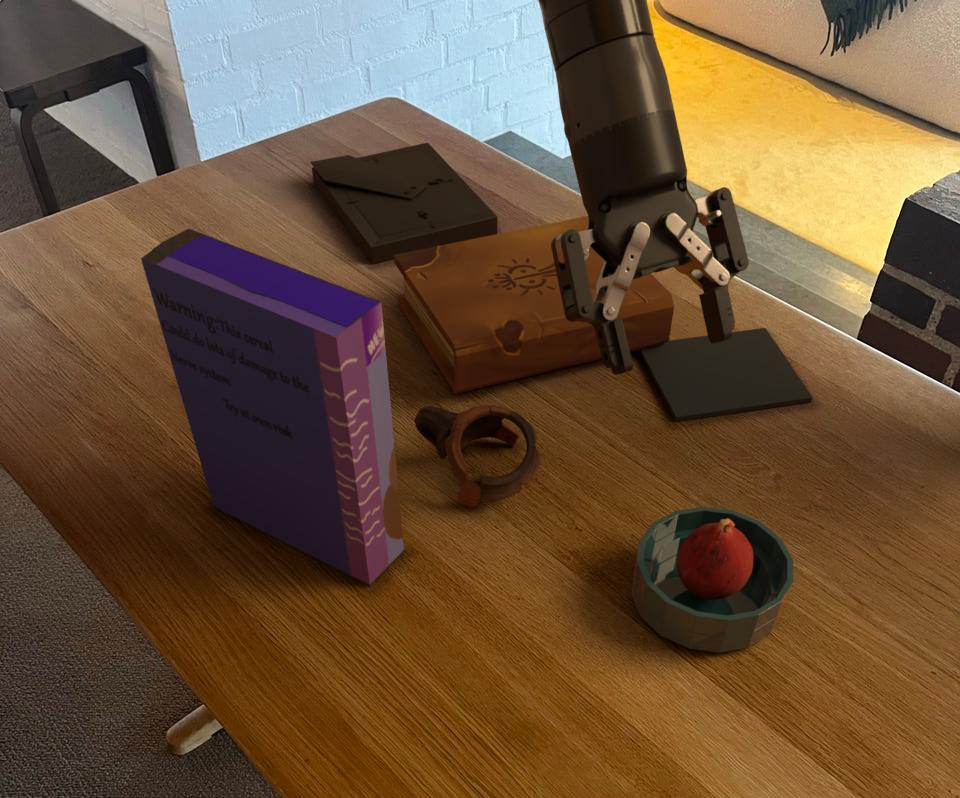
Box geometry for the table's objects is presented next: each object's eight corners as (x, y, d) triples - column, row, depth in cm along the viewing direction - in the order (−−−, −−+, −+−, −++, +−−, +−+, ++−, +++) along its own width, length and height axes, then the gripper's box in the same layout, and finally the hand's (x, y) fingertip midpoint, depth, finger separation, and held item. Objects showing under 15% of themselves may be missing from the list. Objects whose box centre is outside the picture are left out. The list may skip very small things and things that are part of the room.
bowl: (747, 536, 85) (758, 497, 82) (804, 642, 78) (819, 604, 74) (613, 557, 84) (618, 519, 80) (658, 668, 76) (666, 631, 73)
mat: (764, 332, 104) (765, 327, 104) (811, 402, 97) (813, 397, 96) (636, 349, 102) (637, 344, 102) (674, 421, 95) (675, 416, 95)
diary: (458, 400, 96) (455, 348, 92) (397, 305, 108) (393, 255, 103) (668, 347, 101) (675, 296, 97) (589, 262, 113) (592, 212, 109)
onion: (725, 631, 78) (746, 561, 72) (658, 602, 80) (673, 531, 74) (753, 584, 81) (775, 513, 75) (688, 558, 83) (704, 486, 77)
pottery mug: (547, 448, 93) (561, 415, 85) (510, 537, 92) (521, 513, 84) (429, 398, 93) (432, 361, 85) (390, 488, 92) (389, 458, 84)
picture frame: (313, 184, 125) (372, 264, 113) (310, 161, 123) (370, 240, 111) (428, 158, 129) (497, 233, 117) (427, 136, 127) (497, 210, 115)
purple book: (404, 551, 84) (380, 299, 66) (370, 586, 82) (335, 334, 63) (249, 476, 90) (188, 225, 72) (213, 507, 88) (140, 255, 69)
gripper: (551, 132, 64) (612, 380, 69) (735, 86, 68) (782, 325, 72) (510, 163, 71) (568, 387, 76) (679, 120, 75) (725, 336, 79)
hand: (673, 356), depth 74 cm, fingers open, 8 cm apart
